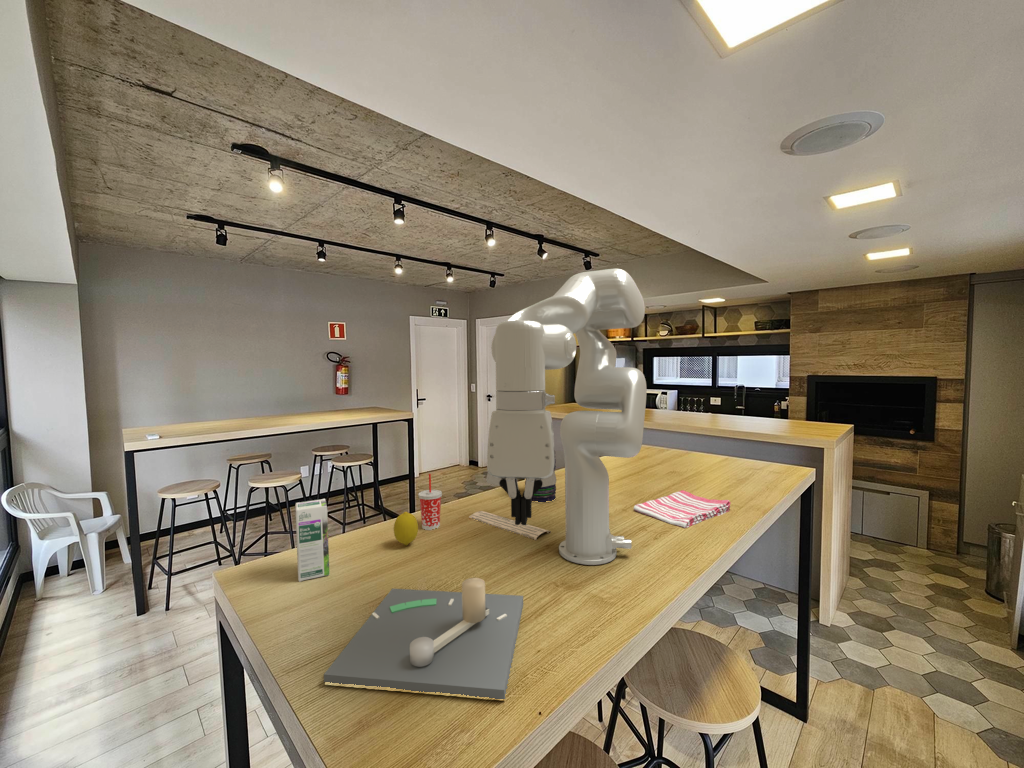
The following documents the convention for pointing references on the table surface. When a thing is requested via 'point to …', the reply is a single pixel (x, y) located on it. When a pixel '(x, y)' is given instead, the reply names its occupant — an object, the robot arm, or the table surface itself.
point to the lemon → (405, 528)
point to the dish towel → (683, 508)
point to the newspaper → (508, 524)
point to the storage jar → (545, 493)
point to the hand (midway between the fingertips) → (521, 521)
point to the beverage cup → (430, 507)
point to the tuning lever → (471, 614)
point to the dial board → (422, 613)
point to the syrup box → (312, 539)
